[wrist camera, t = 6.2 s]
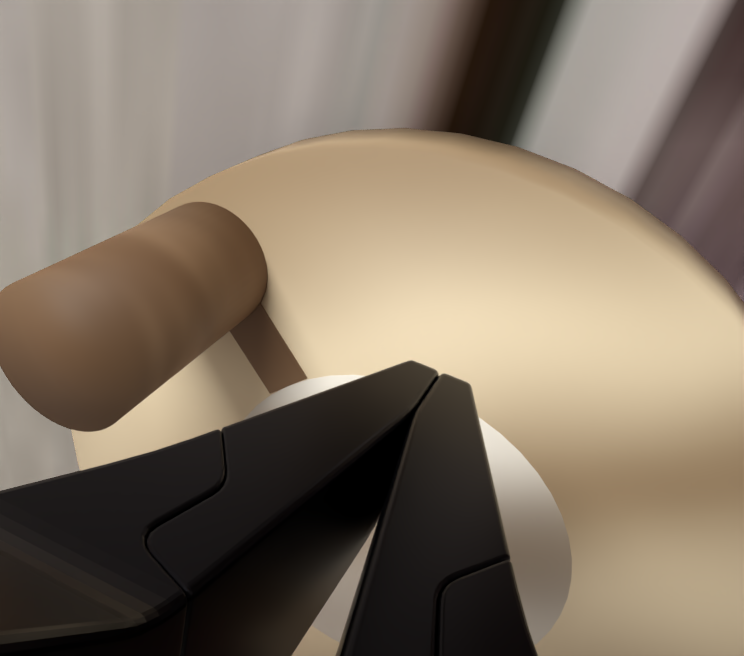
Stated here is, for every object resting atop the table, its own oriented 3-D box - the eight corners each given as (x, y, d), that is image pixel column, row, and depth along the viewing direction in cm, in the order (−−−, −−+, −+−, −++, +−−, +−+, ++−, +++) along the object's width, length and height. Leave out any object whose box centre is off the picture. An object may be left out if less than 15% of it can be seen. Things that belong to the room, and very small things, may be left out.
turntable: (941, 710, 14) (1094, 1109, 9) (324, 748, 22) (227, 968, 17) (587, -68, 10) (522, -113, 6) (13, 314, 18) (-219, 432, 14)
